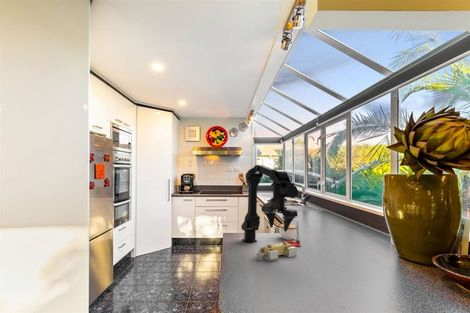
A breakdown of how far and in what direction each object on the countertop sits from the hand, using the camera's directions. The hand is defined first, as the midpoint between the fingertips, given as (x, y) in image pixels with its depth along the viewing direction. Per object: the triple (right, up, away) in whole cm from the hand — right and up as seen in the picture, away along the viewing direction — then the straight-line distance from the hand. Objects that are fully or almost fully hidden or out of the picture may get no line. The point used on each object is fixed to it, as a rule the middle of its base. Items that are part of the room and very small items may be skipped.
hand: (278, 229), depth 111 cm
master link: (-1, -11, -1) cm, 11 cm away
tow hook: (+11, -15, +19) cm, 27 cm away
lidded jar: (+12, -16, +32) cm, 38 cm away
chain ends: (-1, -12, -1) cm, 12 cm away
